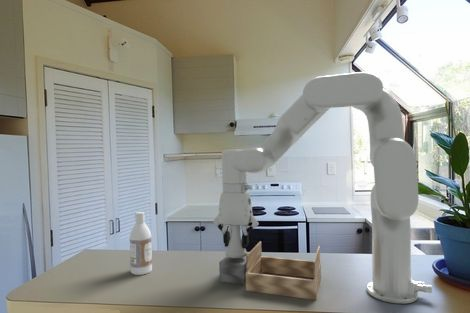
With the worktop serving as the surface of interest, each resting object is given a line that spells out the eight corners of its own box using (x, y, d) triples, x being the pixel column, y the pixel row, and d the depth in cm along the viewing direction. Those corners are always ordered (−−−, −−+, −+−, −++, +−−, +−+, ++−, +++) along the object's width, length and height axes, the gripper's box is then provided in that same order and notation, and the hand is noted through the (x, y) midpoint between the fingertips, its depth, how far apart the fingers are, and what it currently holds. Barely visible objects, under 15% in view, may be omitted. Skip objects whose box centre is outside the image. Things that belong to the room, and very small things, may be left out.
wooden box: (321, 277, 101) (320, 245, 100) (316, 299, 86) (315, 262, 86) (260, 270, 107) (259, 240, 107) (245, 290, 92) (245, 255, 92)
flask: (245, 259, 97) (245, 226, 97) (222, 258, 99) (221, 225, 98) (249, 251, 104) (248, 221, 104) (227, 251, 106) (226, 220, 106)
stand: (252, 274, 104) (251, 256, 104) (244, 284, 97) (244, 264, 96) (228, 271, 107) (228, 253, 107) (219, 281, 99) (219, 262, 99)
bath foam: (143, 276, 104) (141, 215, 104) (126, 273, 107) (124, 213, 107) (156, 269, 111) (154, 211, 110) (140, 266, 113) (138, 210, 113)
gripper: (264, 187, 102) (265, 244, 102) (214, 186, 107) (215, 241, 108) (257, 190, 95) (259, 252, 95) (204, 189, 100) (206, 247, 101)
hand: (236, 245), depth 101 cm, fingers open, 5 cm apart
